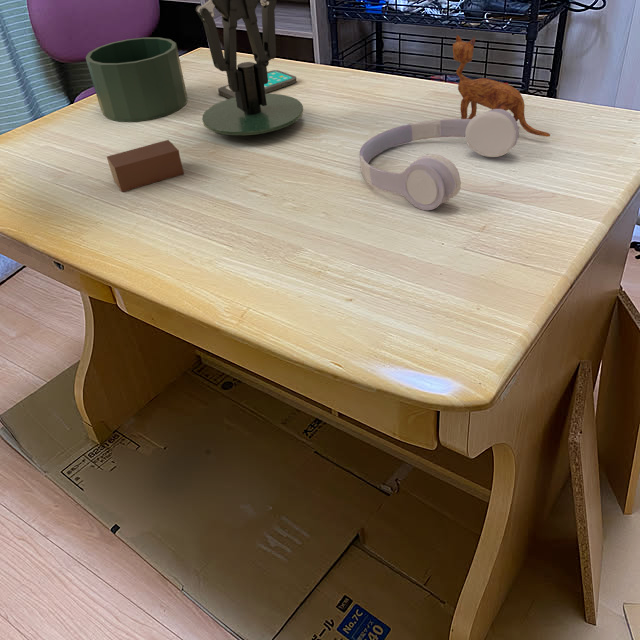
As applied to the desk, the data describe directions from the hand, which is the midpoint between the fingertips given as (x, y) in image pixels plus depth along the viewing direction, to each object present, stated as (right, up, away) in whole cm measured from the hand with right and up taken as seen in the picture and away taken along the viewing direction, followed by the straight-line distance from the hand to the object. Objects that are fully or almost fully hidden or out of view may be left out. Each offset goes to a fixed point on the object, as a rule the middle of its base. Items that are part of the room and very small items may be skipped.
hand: (251, 105), depth 109 cm
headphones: (+28, -15, -15) cm, 35 cm away
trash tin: (-23, +5, +15) cm, 28 cm away
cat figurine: (+41, -7, -7) cm, 42 cm away
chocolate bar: (-15, -15, -11) cm, 24 cm away
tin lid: (0, -1, +1) cm, 2 cm away
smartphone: (-1, +10, +18) cm, 20 cm away
